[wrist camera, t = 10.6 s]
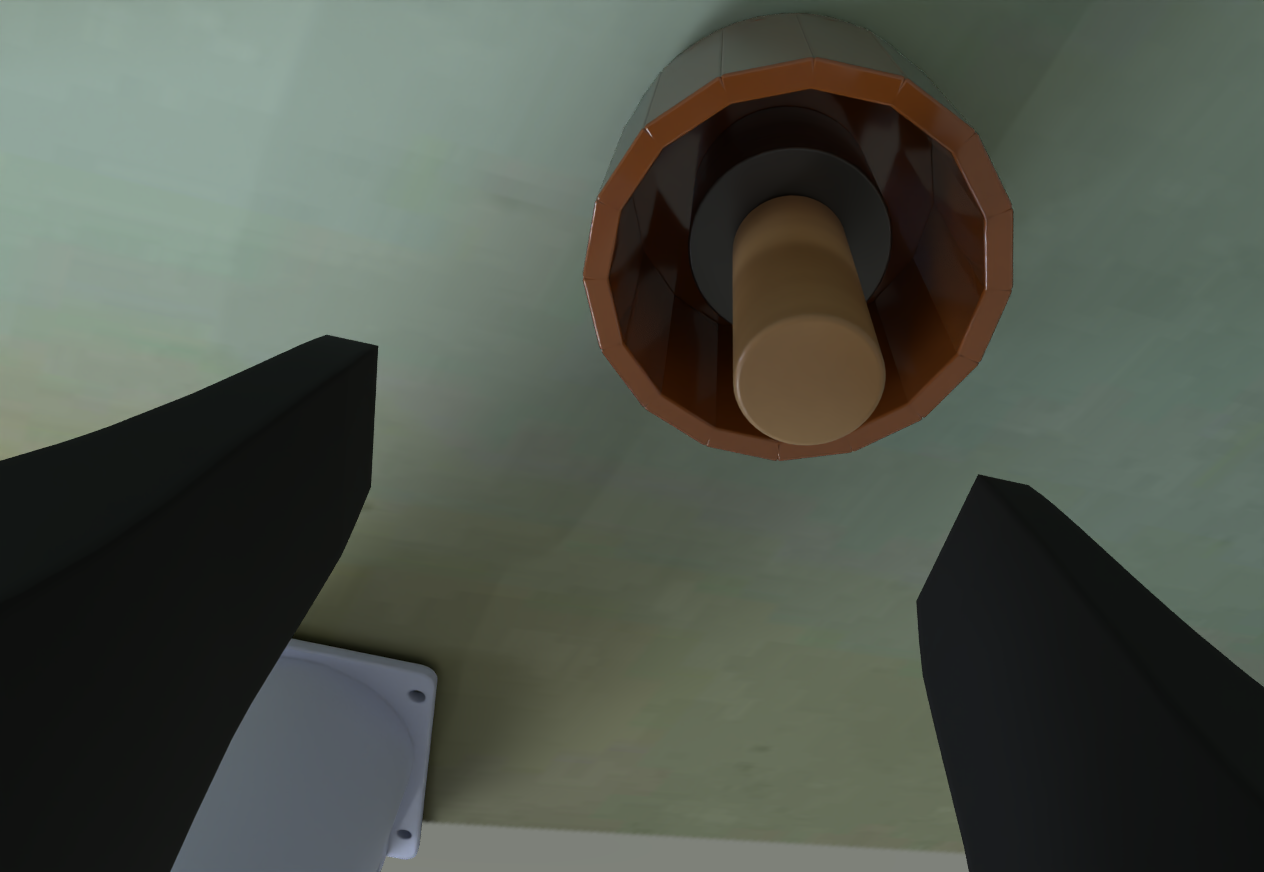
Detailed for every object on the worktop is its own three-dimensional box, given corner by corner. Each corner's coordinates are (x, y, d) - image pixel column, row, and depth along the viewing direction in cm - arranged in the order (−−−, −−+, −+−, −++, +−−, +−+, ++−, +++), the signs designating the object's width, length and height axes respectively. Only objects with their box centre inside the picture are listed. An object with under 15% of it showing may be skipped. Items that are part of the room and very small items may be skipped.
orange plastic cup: (884, 367, 21) (922, 493, 17) (592, 304, 21) (557, 416, 17) (1005, 55, 18) (1091, 117, 13) (652, -24, 18) (627, 15, 13)
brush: (839, 294, 20) (895, 517, 13) (677, 259, 20) (649, 466, 13) (896, 127, 18) (994, 289, 11) (715, 88, 18) (707, 227, 11)
